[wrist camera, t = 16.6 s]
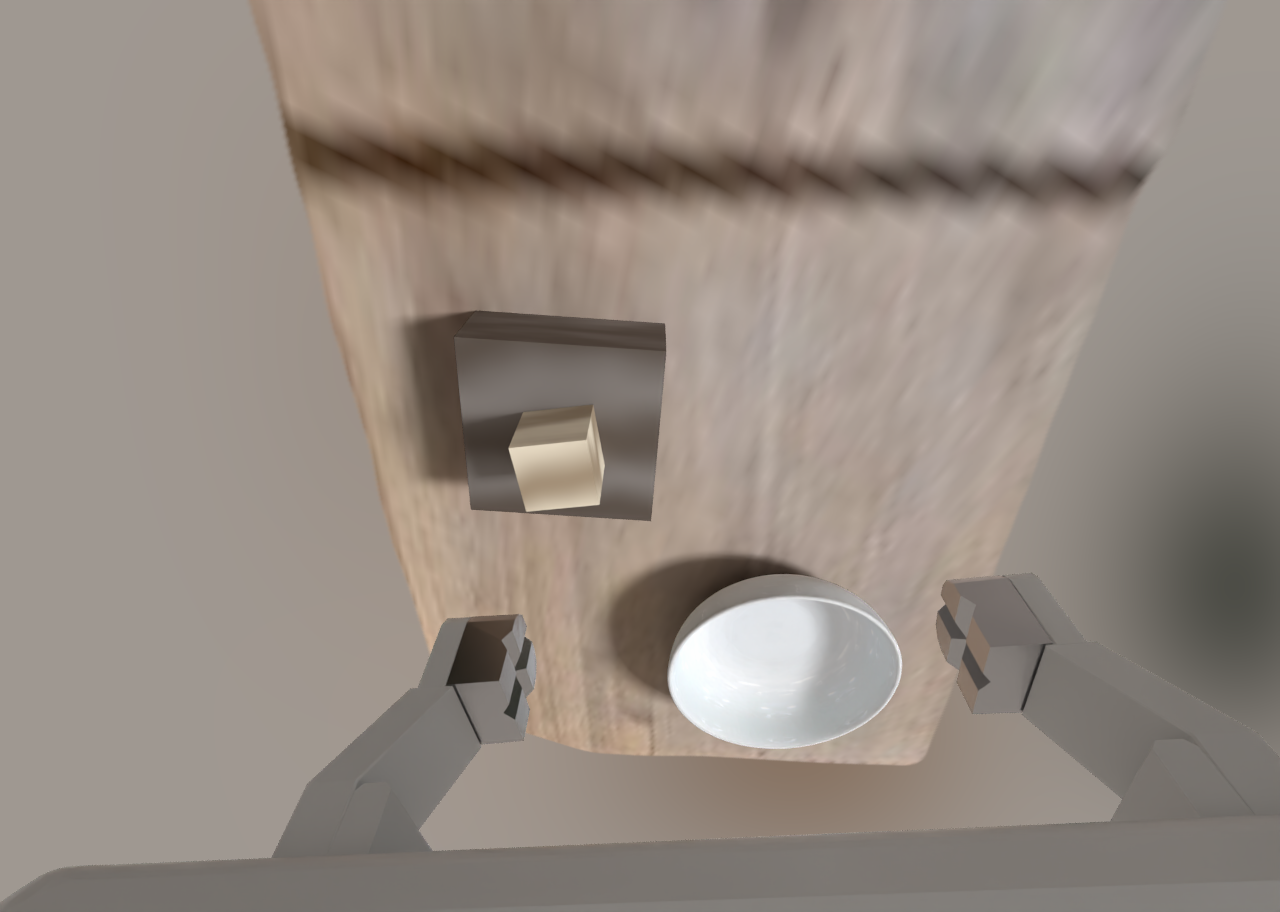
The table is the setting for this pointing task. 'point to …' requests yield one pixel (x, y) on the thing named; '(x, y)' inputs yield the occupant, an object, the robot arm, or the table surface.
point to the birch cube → (558, 458)
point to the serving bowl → (782, 663)
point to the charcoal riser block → (561, 401)
